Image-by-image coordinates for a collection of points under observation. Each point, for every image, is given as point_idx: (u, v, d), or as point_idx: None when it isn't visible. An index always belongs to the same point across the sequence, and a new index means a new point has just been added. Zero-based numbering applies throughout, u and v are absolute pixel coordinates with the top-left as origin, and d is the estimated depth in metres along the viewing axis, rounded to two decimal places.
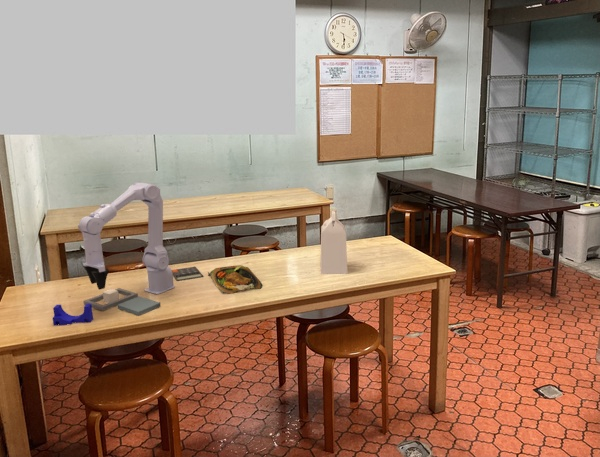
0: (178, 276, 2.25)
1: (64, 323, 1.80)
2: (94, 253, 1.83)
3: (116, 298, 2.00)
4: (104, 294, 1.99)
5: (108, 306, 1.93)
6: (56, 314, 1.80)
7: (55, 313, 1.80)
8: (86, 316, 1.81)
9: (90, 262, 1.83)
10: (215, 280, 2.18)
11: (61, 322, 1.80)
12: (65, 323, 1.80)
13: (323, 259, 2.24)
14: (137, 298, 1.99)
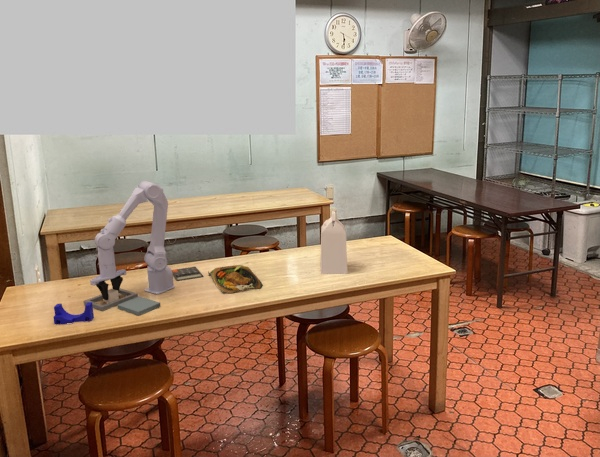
0: (178, 276, 2.25)
1: (65, 322, 1.80)
2: (99, 266, 1.95)
3: (116, 298, 2.00)
4: None
5: (108, 306, 1.93)
6: (57, 313, 1.81)
7: (56, 312, 1.81)
8: (86, 315, 1.82)
9: None
10: (215, 280, 2.18)
11: (62, 321, 1.80)
12: (66, 322, 1.80)
13: (323, 259, 2.24)
14: (137, 298, 1.99)
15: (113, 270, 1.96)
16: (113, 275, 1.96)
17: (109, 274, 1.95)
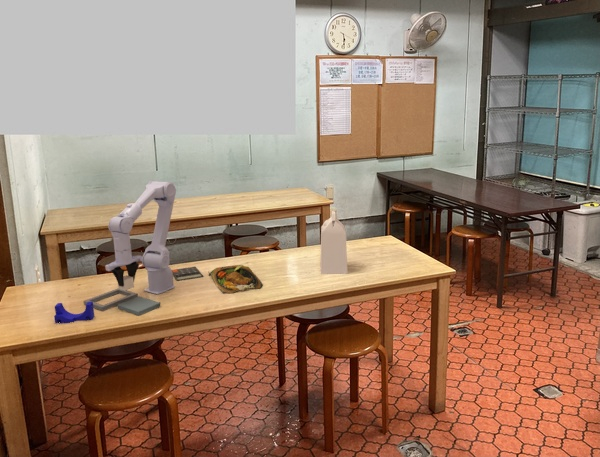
0: (178, 276, 2.25)
1: (66, 321, 1.81)
2: (115, 252, 1.89)
3: (131, 285, 1.94)
4: None
5: (108, 306, 1.93)
6: (57, 312, 1.82)
7: (56, 311, 1.82)
8: (87, 314, 1.83)
9: None
10: (215, 280, 2.18)
11: (63, 320, 1.81)
12: (67, 321, 1.81)
13: (323, 259, 2.24)
14: (137, 298, 1.99)
15: (129, 255, 1.90)
16: (129, 261, 1.90)
17: (125, 260, 1.89)
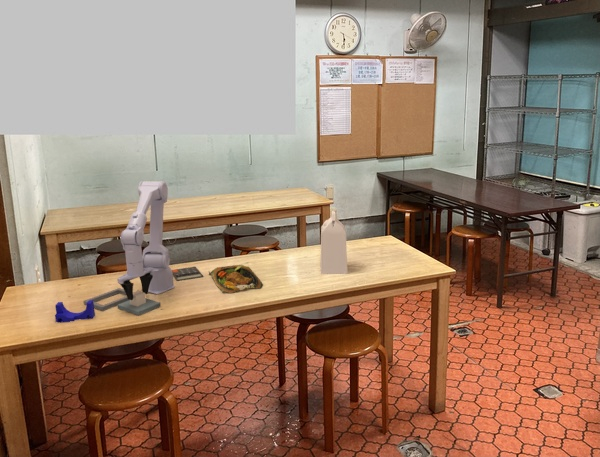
0: (178, 276, 2.25)
1: (67, 320, 1.82)
2: (127, 264, 1.87)
3: (143, 300, 1.93)
4: None
5: (108, 306, 1.93)
6: (58, 311, 1.83)
7: (57, 310, 1.82)
8: (88, 313, 1.84)
9: (127, 271, 1.90)
10: (216, 280, 2.18)
11: (64, 319, 1.82)
12: (68, 320, 1.82)
13: (323, 259, 2.24)
14: None
15: (141, 268, 1.88)
16: (141, 273, 1.89)
17: (137, 272, 1.88)
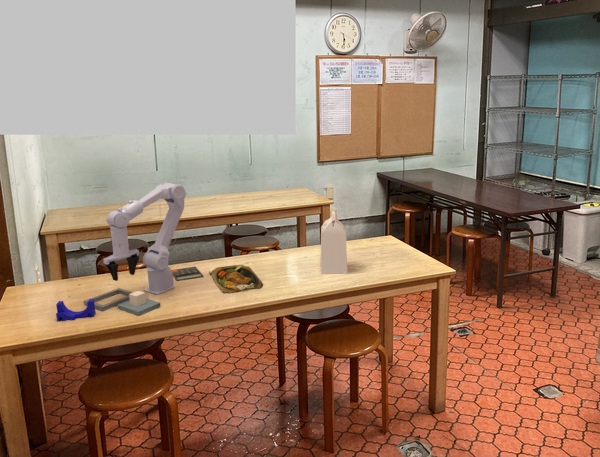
0: (178, 276, 2.25)
1: (68, 319, 1.83)
2: (113, 245, 1.93)
3: (143, 300, 1.93)
4: (131, 296, 1.92)
5: (108, 306, 1.93)
6: (59, 310, 1.84)
7: (58, 309, 1.84)
8: (89, 311, 1.85)
9: None
10: (216, 279, 2.19)
11: (65, 318, 1.83)
12: (69, 319, 1.83)
13: (323, 259, 2.24)
14: None
15: (126, 249, 1.94)
16: (126, 254, 1.95)
17: (122, 253, 1.93)
